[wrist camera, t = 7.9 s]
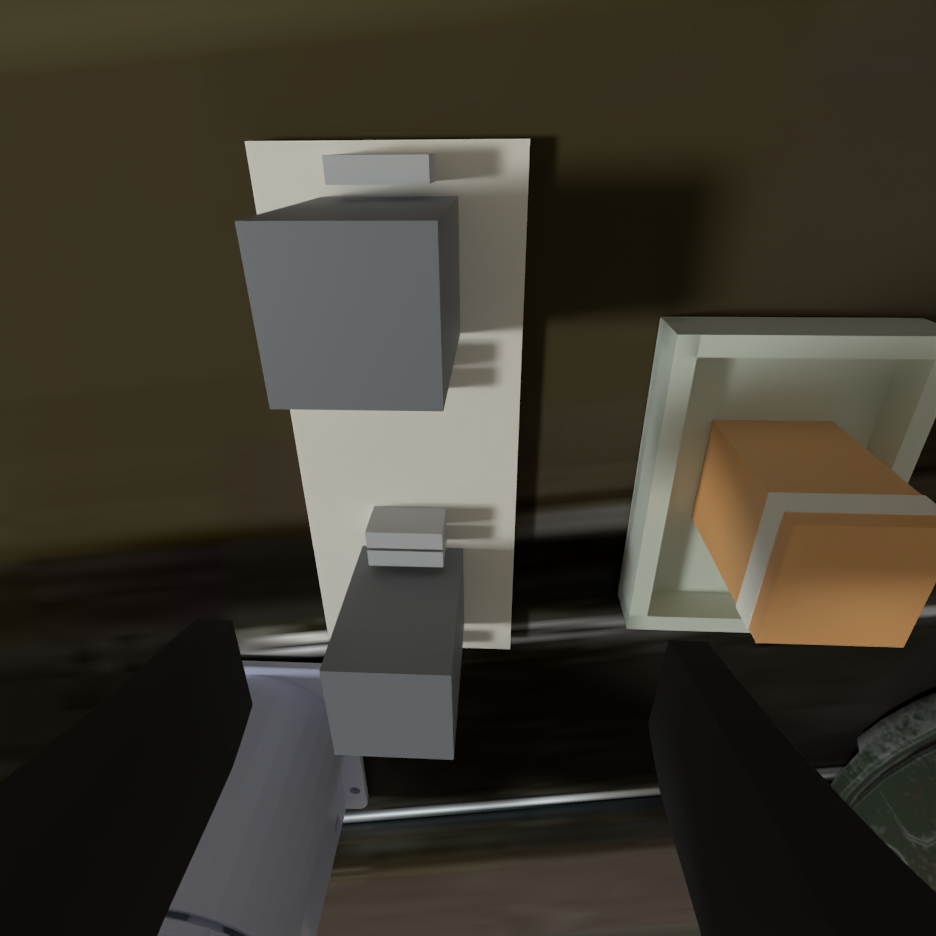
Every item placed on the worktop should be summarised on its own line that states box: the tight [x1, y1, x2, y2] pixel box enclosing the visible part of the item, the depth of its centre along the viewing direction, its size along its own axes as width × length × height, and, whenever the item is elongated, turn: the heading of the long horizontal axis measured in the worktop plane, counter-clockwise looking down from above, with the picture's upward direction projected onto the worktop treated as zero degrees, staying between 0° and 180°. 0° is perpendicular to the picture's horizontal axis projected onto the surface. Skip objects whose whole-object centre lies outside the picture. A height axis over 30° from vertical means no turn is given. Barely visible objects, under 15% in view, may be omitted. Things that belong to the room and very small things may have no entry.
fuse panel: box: [235, 139, 530, 760], centre depth 16 cm, size 17×7×6 cm, turn 0°
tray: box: [618, 317, 936, 633], centre depth 18 cm, size 10×7×2 cm
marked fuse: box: [691, 420, 936, 647], centre depth 16 cm, size 4×4×6 cm
